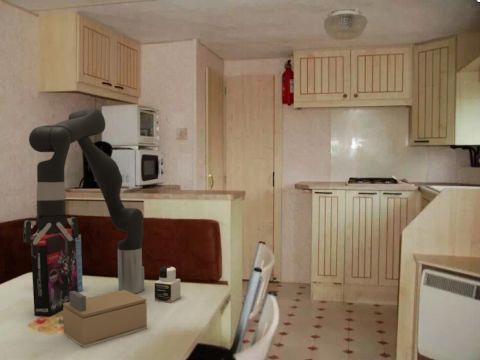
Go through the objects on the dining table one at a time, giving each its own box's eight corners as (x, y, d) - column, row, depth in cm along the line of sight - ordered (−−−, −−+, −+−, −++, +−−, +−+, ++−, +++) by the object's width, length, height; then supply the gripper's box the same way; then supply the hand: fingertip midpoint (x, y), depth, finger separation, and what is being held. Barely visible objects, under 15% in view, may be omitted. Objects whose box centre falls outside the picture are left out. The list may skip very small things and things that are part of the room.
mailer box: (124, 316, 144) (124, 293, 143) (146, 328, 133) (146, 302, 133) (63, 333, 130) (63, 307, 130) (83, 347, 120) (82, 318, 119)
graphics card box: (49, 317, 144) (47, 235, 143) (31, 316, 145) (29, 235, 144) (78, 301, 161) (77, 228, 160) (62, 300, 162) (60, 227, 161)
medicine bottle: (154, 300, 160) (153, 268, 160) (164, 295, 167) (164, 264, 166) (171, 303, 158) (170, 270, 157) (180, 297, 164) (180, 266, 164)
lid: (124, 292, 143) (123, 277, 143) (146, 301, 133) (146, 286, 133) (63, 306, 130) (62, 290, 129) (82, 317, 119) (82, 300, 119)
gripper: (72, 196, 129) (73, 250, 129) (20, 198, 120) (21, 257, 120) (81, 197, 123) (82, 254, 124) (27, 200, 114) (28, 261, 115)
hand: (52, 255), depth 122 cm, fingers open, 8 cm apart
